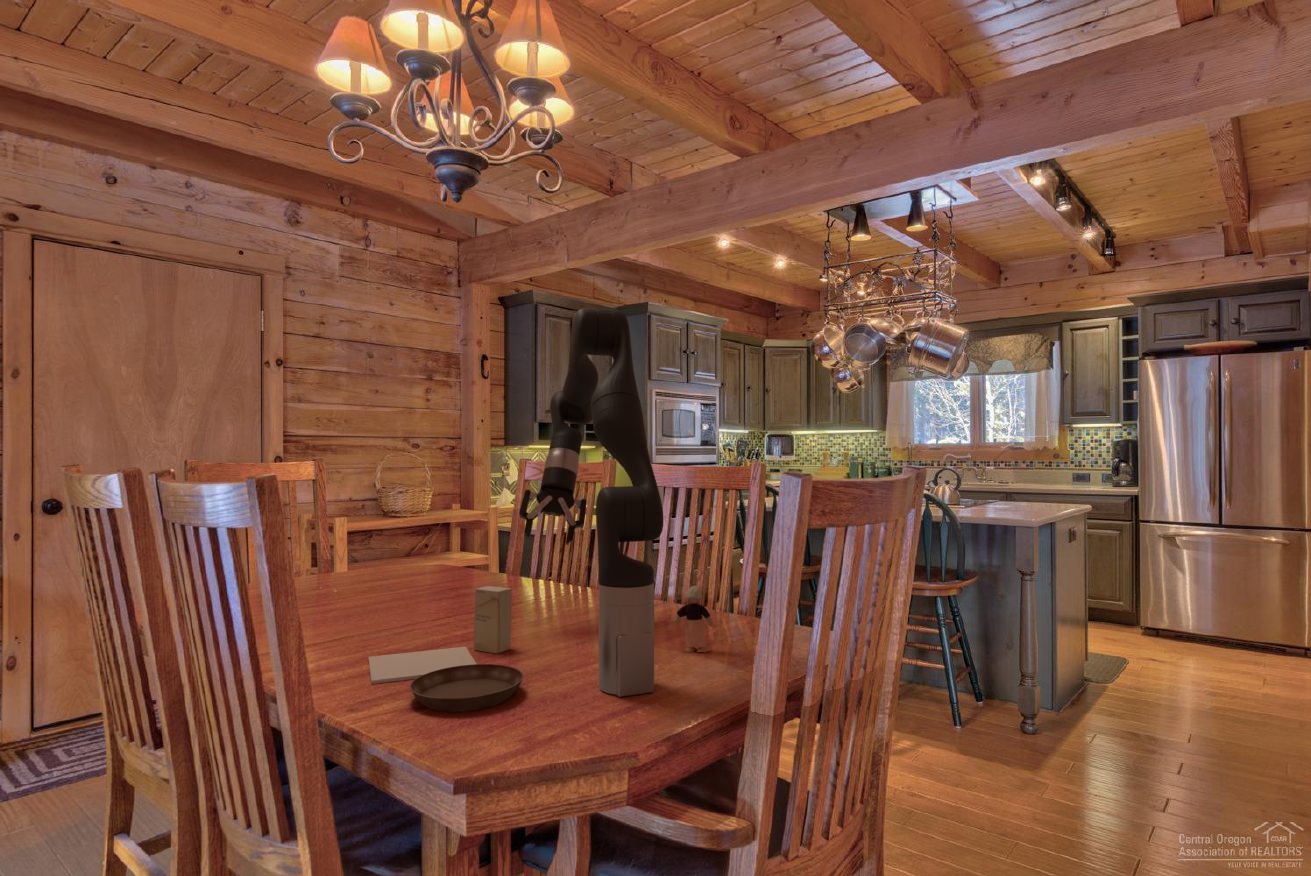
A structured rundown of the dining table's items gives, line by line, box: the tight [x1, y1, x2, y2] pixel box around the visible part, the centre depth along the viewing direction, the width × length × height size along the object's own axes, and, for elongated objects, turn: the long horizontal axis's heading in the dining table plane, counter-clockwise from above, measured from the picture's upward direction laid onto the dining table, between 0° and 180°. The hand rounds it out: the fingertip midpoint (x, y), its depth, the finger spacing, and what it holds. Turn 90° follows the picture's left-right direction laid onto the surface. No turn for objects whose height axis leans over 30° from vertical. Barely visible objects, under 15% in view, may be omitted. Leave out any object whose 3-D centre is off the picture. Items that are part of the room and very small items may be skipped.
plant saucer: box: [409, 663, 524, 712], centre depth 120 cm, size 18×18×3 cm
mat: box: [368, 646, 477, 685], centre depth 138 cm, size 16×18×1 cm
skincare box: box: [473, 585, 513, 654], centre depth 149 cm, size 6×4×12 cm
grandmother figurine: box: [674, 585, 714, 653], centre depth 147 cm, size 8×4×13 cm, turn 84°
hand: (547, 540), depth 162 cm, fingers open, 8 cm apart
